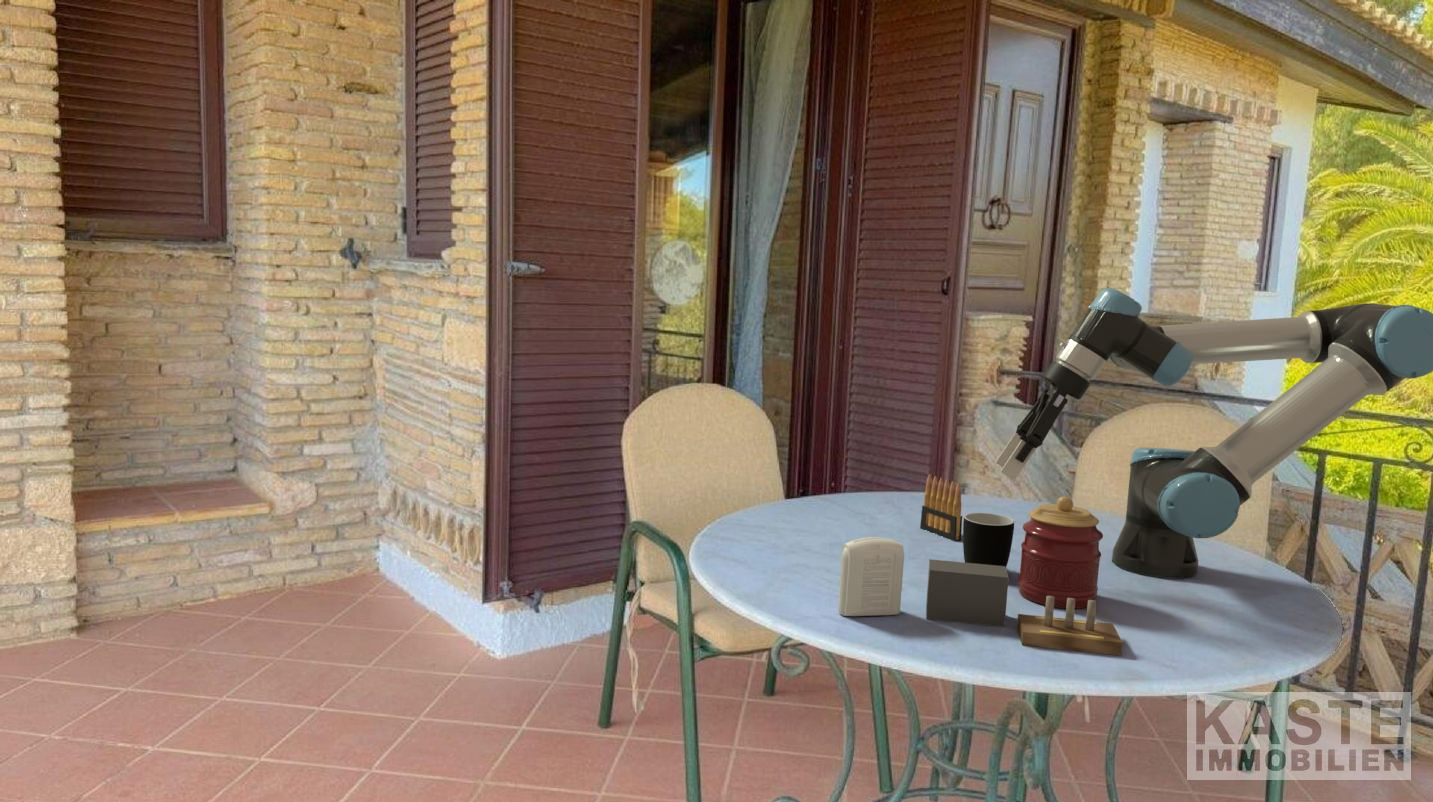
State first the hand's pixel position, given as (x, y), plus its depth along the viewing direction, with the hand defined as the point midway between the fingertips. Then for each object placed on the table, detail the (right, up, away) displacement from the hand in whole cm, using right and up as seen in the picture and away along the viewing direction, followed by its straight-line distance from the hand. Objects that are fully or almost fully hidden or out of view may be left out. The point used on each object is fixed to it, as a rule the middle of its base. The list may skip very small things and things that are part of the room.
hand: (1004, 471), depth 178 cm
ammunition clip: (-5, -16, +31) cm, 35 cm away
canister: (+7, -21, -7) cm, 23 cm away
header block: (+2, -24, -27) cm, 36 cm away
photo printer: (-27, -22, -18) cm, 39 cm away
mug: (-2, -19, +7) cm, 20 cm away
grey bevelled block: (-12, -22, -18) cm, 31 cm away
